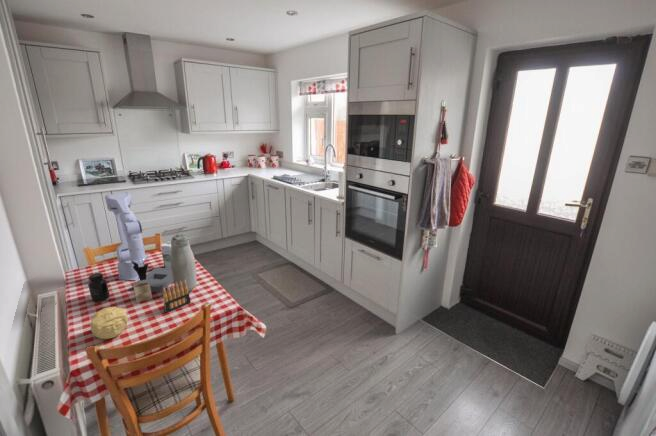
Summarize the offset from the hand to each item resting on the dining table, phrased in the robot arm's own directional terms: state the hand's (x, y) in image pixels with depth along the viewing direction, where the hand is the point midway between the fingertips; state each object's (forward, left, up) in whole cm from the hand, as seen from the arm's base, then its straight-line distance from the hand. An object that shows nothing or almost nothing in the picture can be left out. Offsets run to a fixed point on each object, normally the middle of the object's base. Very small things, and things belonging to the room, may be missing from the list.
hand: (142, 276), depth 144 cm
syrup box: (-5, +29, -11) cm, 32 cm away
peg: (0, -1, -11) cm, 11 cm away
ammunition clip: (+19, -5, -11) cm, 22 cm away
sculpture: (+4, -25, -11) cm, 27 cm away
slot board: (-3, +14, -11) cm, 18 cm away
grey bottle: (+15, +9, -11) cm, 20 cm away
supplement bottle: (-19, -4, -11) cm, 23 cm away
